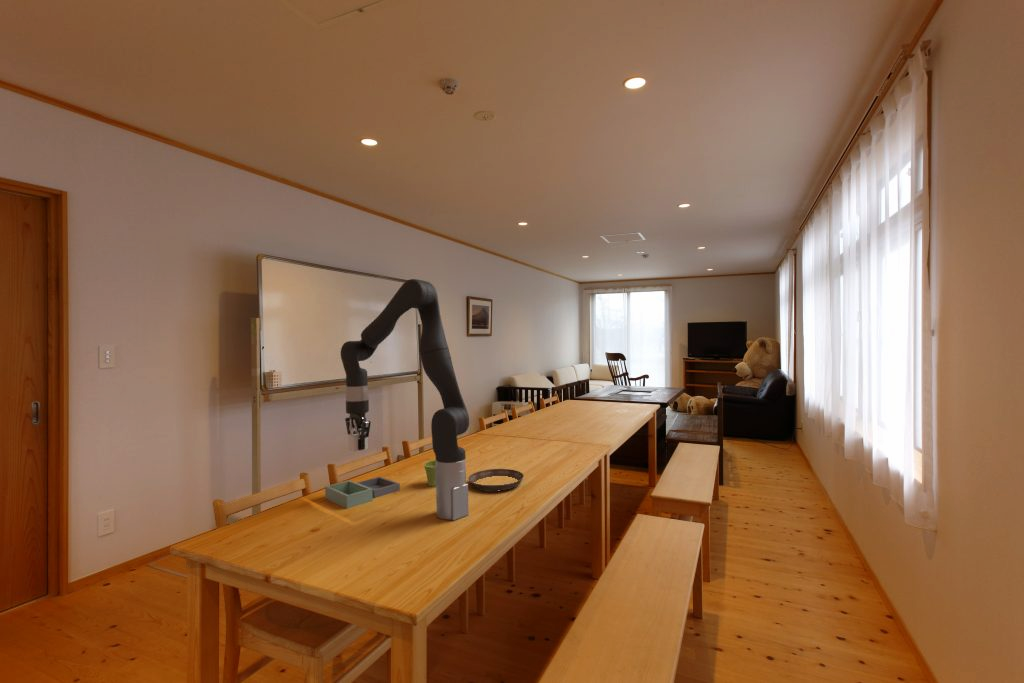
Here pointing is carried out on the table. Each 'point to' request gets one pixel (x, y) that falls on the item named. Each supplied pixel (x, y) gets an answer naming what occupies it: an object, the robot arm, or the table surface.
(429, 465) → the plant pot
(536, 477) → the table surface
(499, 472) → the plant saucer
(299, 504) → the table surface
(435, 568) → the table surface
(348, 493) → the sage green bin
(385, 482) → the charcoal tub
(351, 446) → the pale pink block
